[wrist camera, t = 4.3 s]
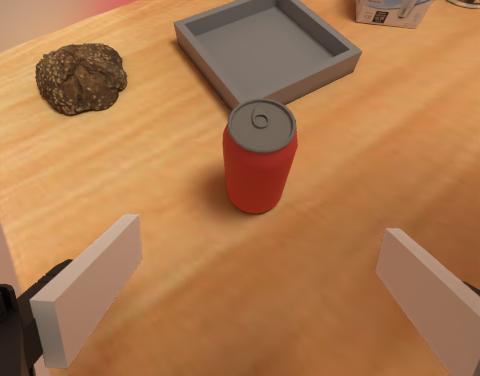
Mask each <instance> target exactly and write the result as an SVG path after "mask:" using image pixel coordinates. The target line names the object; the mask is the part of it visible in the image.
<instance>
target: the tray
mask: <svg viewBox="0 0 480 376" xmlns="http://www.w3.org/2000/svg"><path fill="white" fill-rule="evenodd" d="M174 27H175V31H176V36H177V41H178V44H179V45H180V47H181V48H182V49H183V51H184V52H185V53H186V54H187V56H188V57H189V58H190V59H191V61H192V62H193V63H194V64H195V66H196V67H197V68H198V70H199V71H200V72H201V73H202V75H203V76H204V77H205V78H206V80H207V81H208V82H209V83H210V85H211V86H212V87H213V88H214V90H215V91H216V92H217V94H218V95H219V96H220V97H221V99H222V100H223V101H224V102H225V104H226V105H227V106H228V107H229V109H230V110H231V111H232V110H233V109H234V108H235V107H236V106H237V105H239V104H241V103H243V102H244V101H246V100H251V99H255V98H266V99H270V100H274V101H277V102H279V103H281V104H283V105H286V104H288V103H290V102H292V101H294V100H296V99H298V98H300V97H302V96H304V95H307V94H309V93H311V92H313V91H315V90H317V89H319V88H321V87H323V86H325V85H327V84H329V83H331V82H333V81H335V80H337V79H339V78H342V77H344V76H346V75H348V74H350V73H352V72H353V71H354V69H355V67H356V64H357V62H358V60H359V58H360V55H361V53H362V51H361V50H360V49H359V48H358V47H356V46H355V45H354V44H353V43H351V42H350V41H349V40H348V39H347V38H345V37H344V36H343V35H342V34H340V33H339V32H338V31H337V30H335V29H334V28H333V27H332V26H330V25H329V24H328V23H327V22H325V21H324V20H323V19H322V18H321V17H319V16H318V15H317V14H316V13H314V12H313V11H312V10H311V9H309V8H308V7H307V6H306V5H304V4H303V3H302V2H301V1H299V0H236V1H233V2H231V3H228V4H225V5H222V6H219V7H216V8H214V9H211V10H208V11H205V12H202V13H199V14H196V15H194V16H191V17H188V18H185V19H182V20H179V21H177V22H174Z"/></svg>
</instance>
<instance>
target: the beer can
mask: <svg viewBox="0 0 480 376" xmlns="http://www.w3.org/2000/svg"><path fill="white" fill-rule="evenodd" d="M297 146H298V144H297V131H296V120H295V118H294V116H293V114H292V112H291V111H290V110H289V109H288V108H287V107H286V106H284V105H283V104H281V103H279V102H277V101H274V100H270V99H266V98H255V99H251V100H246V101H244V102H243V103H241V104H239V105H237V106H236V107H235V108H234V109H233V110H232V111H231V113H230V115H229V117H228V123H227V125H226V127H225V130H224V133H223V155H224V166H225V177H226V189H227V193H228V197H229V199H230V200H231V202H232V203H233V204H234V205H235V206H236V207H237V208H239V209H240V210H242V211H245V212H248V213H262V212H266V211H268V210H270V209H272V208H273V207H275V206H276V204H277V203H278V202H279V200H280V198H281V195H282V192H283V189H284V186H285V183H286V180H287V177H288V174H289V171H290V168H291V165H292V162H293V159H294V156H295V152H296V149H297Z"/></svg>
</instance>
